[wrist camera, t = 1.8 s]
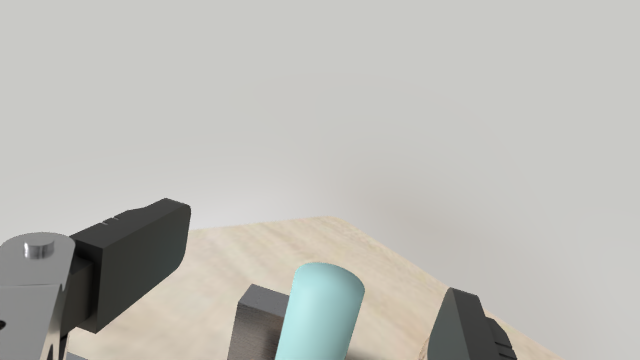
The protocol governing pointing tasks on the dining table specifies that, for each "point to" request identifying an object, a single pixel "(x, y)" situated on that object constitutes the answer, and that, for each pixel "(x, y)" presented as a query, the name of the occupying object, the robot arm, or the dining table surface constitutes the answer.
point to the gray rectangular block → (258, 324)
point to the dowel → (320, 313)
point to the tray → (73, 357)
